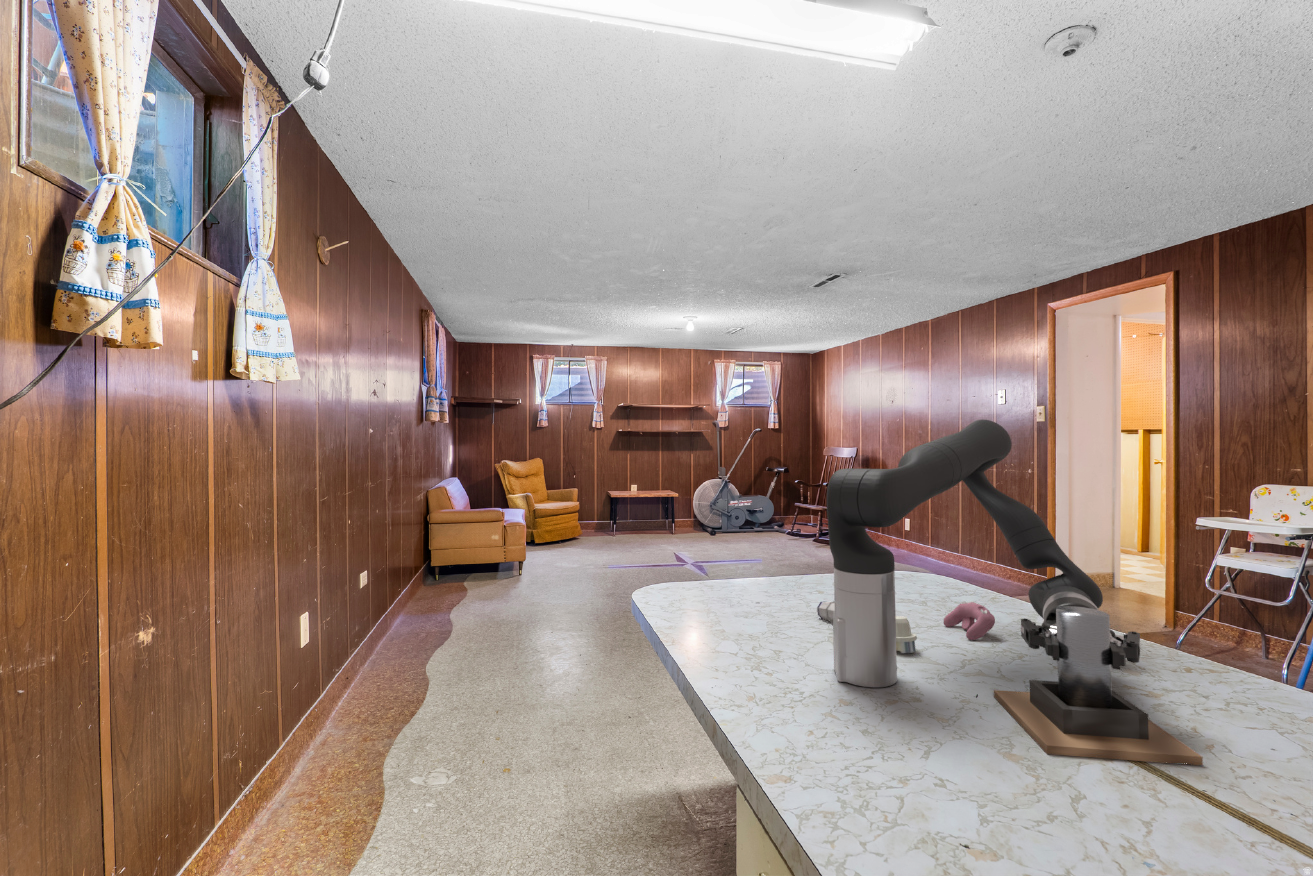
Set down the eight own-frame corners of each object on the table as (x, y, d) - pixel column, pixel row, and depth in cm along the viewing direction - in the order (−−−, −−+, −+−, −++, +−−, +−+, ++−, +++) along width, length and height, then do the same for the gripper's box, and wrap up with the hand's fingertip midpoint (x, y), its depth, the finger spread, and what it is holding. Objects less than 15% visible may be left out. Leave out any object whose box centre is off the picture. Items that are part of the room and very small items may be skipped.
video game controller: (988, 649, 108) (1004, 615, 109) (966, 638, 108) (982, 605, 109) (959, 632, 118) (974, 602, 119) (939, 623, 118) (954, 592, 118)
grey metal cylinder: (1072, 713, 73) (1069, 617, 73) (1050, 694, 78) (1047, 605, 78) (1122, 716, 72) (1119, 619, 72) (1096, 696, 77) (1094, 607, 77)
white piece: (833, 598, 126) (920, 612, 103) (836, 630, 125) (924, 651, 102) (813, 601, 124) (896, 615, 101) (816, 633, 123) (901, 655, 100)
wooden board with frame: (1046, 753, 68) (1045, 719, 68) (993, 697, 84) (993, 669, 84) (1202, 765, 65) (1201, 730, 65) (1117, 704, 81) (1116, 675, 81)
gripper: (1016, 591, 91) (1017, 619, 77) (1133, 602, 84) (1159, 635, 69) (1017, 638, 91) (1019, 675, 77) (1134, 654, 83) (1161, 698, 69)
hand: (1085, 656), depth 73 cm, fingers closed on grey metal cylinder, 5 cm apart
